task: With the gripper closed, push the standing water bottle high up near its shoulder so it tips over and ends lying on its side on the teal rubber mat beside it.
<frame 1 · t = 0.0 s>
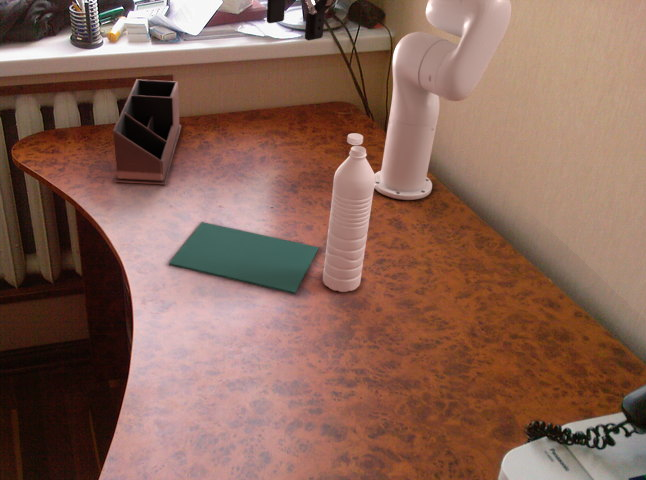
hand: (293, 30, 118), 37 cm above the table, tool pointing down, fingers open, 9 cm apart
water bottle: (340, 278, 129), on the table
mat: (245, 256, 132), on the table
desk organizer: (150, 153, 164), on the table
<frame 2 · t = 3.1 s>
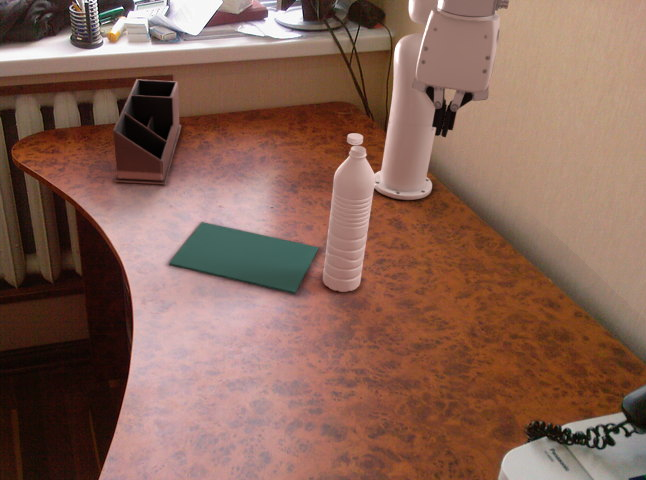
hand: (441, 132, 108), 29 cm above the table, tool pointing down, fingers closed
nothing on the table moved.
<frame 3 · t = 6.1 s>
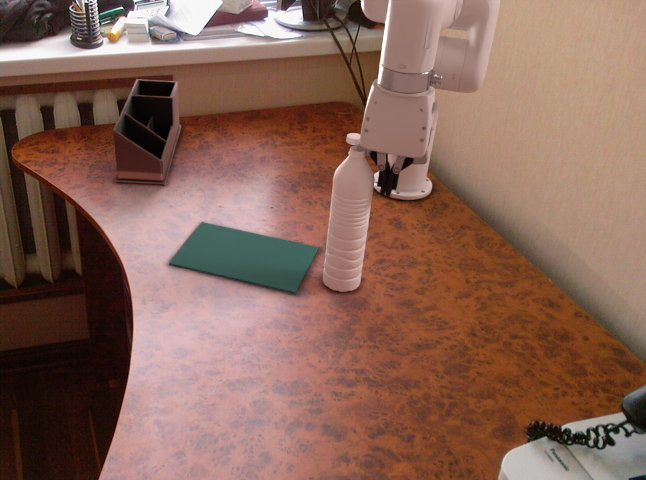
hand: (386, 191, 116), 18 cm above the table, tool pointing down, fingers closed
water bottle: (340, 278, 128), on the table, touching gripper
everything else where it was.
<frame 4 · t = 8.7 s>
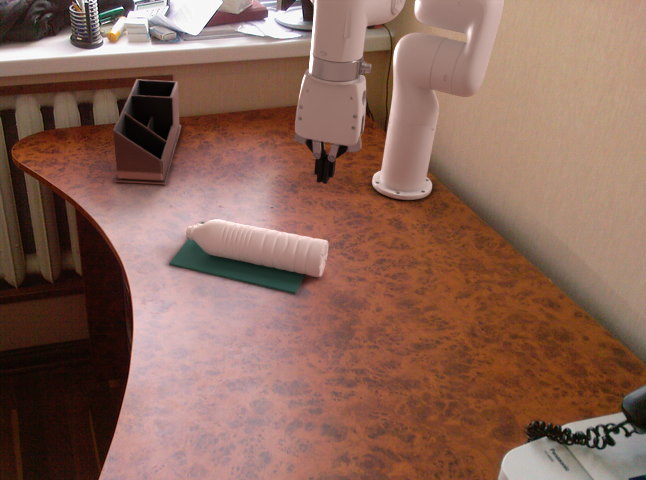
hand: (323, 179, 119), 18 cm above the table, tool pointing down, fingers closed
water bottle: (326, 258, 127), point 3 cm above the table, touching mat
everything else where it was.
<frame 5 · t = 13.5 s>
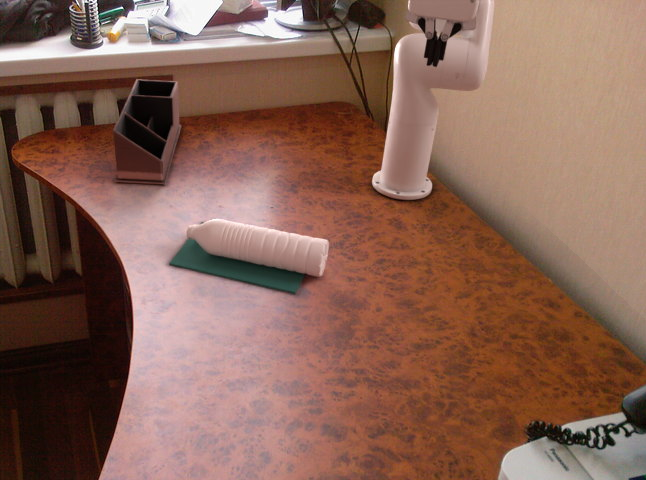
hand: (432, 63, 115), 35 cm above the table, tool pointing down, fingers closed
nothing on the table moved.
at the end: water bottle tilted 90°; water bottle touching mat; the gripper is holding nothing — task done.
